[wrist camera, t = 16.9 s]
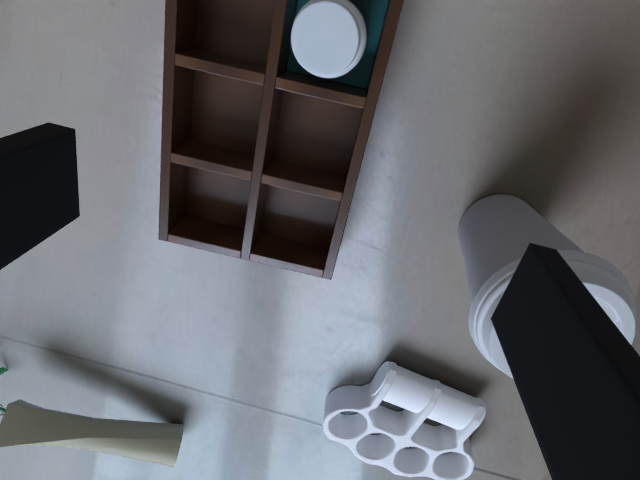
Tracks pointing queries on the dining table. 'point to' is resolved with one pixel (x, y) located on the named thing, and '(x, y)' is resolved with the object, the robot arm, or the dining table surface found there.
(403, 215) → the dining table surface
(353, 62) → the pill bottle
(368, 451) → the knuckle duster
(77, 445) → the flower vase
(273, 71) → the grid
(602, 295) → the coffee cup
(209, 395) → the dining table surface
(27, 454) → the dining table surface
